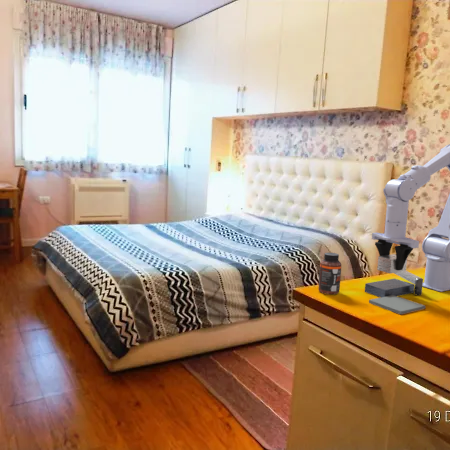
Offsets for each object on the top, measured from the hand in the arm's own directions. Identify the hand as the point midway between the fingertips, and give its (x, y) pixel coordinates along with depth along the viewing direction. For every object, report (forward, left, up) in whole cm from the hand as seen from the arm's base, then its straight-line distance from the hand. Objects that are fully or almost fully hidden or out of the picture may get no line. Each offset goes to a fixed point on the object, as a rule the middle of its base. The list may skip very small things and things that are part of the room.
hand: (391, 267), depth 129 cm
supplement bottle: (+17, -8, -8) cm, 20 cm away
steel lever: (-9, -2, -7) cm, 11 cm away
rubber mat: (+9, +9, -7) cm, 14 cm away
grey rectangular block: (0, 0, -1) cm, 1 cm away
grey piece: (0, 0, -7) cm, 7 cm away
